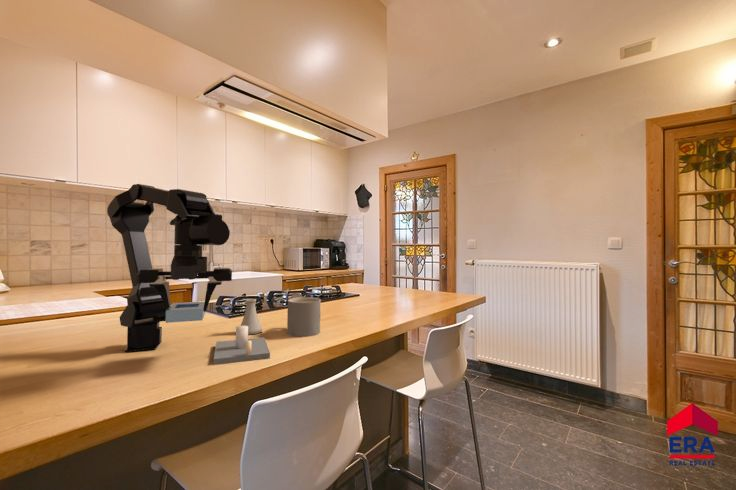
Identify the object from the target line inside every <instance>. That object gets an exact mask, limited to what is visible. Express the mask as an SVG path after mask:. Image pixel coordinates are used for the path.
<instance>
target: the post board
mask: <svg viewBox="0 0 736 490" xmlns="http://www.w3.org/2000/svg"><path fill="white" fill-rule="evenodd" d="M235 327H236V328H235V339H231V340H223V341H221V340H220V341H216V343H215V348H214V354H213V365H220V364H230V363H239V362H240V363H241V362H247V361H255V360H265V359H270V358H271V353H270V349H269V347H268V344H267V342H266V338H265V337H254V338H253V337H252V338H249V334H248V326H241V325H239V326H235Z"/></svg>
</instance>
